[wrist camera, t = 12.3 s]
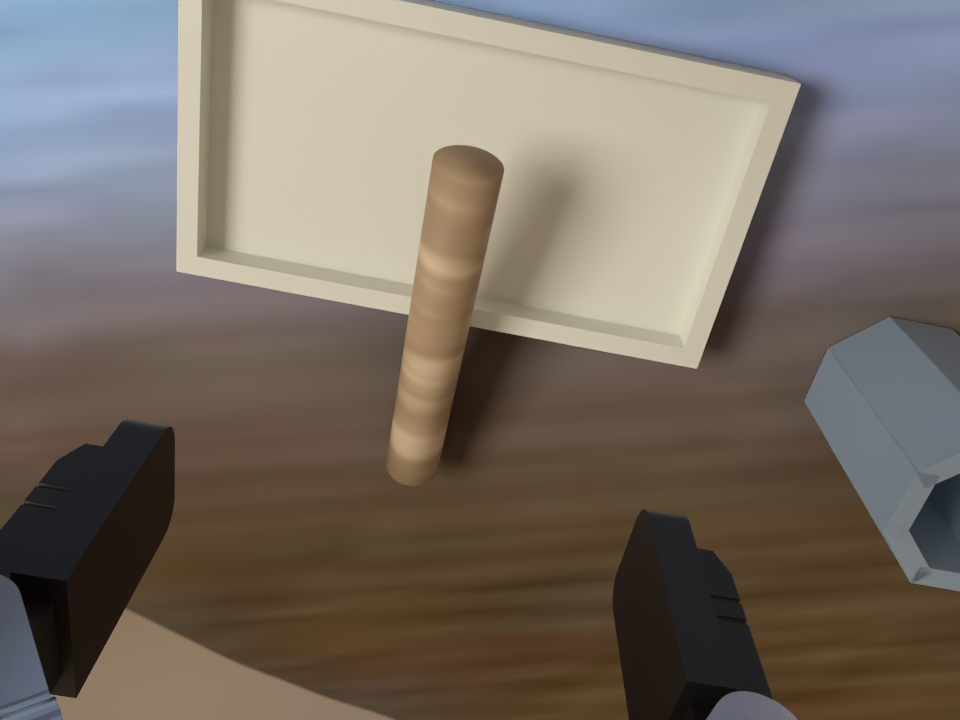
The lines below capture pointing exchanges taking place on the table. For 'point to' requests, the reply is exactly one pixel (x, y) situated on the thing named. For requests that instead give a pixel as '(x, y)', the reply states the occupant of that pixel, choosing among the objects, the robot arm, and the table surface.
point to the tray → (483, 124)
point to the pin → (442, 305)
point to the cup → (899, 437)
